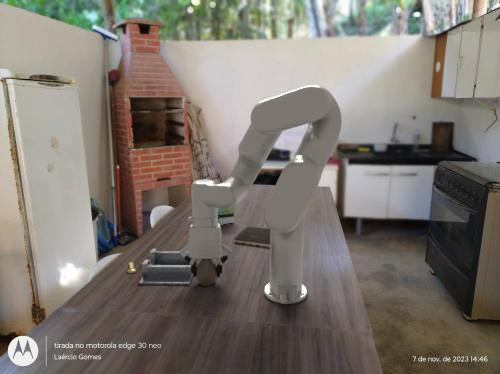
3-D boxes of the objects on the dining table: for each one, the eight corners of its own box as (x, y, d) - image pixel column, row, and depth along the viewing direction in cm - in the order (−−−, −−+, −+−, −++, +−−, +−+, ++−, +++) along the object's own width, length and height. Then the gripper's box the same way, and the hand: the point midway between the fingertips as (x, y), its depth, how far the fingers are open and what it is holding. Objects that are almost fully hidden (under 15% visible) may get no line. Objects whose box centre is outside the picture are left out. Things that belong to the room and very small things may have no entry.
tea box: (234, 223, 172) (234, 192, 168) (213, 226, 168) (212, 194, 165) (224, 214, 185) (224, 185, 182) (204, 216, 182) (203, 187, 178)
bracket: (189, 284, 117) (188, 270, 115) (139, 284, 117) (138, 269, 116) (198, 257, 137) (198, 244, 135) (156, 256, 137) (155, 244, 136)
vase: (207, 275, 122) (206, 250, 120) (222, 282, 118) (222, 256, 116) (191, 283, 117) (190, 257, 115) (207, 290, 113) (206, 263, 111)
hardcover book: (289, 252, 142) (290, 246, 142) (233, 244, 150) (233, 238, 149) (299, 237, 157) (299, 232, 156) (247, 230, 164) (247, 225, 164)
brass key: (136, 273, 125) (136, 270, 125) (127, 274, 124) (127, 272, 124) (135, 263, 132) (135, 261, 131) (127, 265, 131) (126, 262, 131)
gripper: (173, 225, 109) (176, 281, 114) (233, 225, 109) (234, 281, 113) (178, 216, 117) (181, 269, 121) (234, 217, 116) (235, 270, 121)
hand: (206, 274), depth 117 cm, fingers closed on vase, 6 cm apart
